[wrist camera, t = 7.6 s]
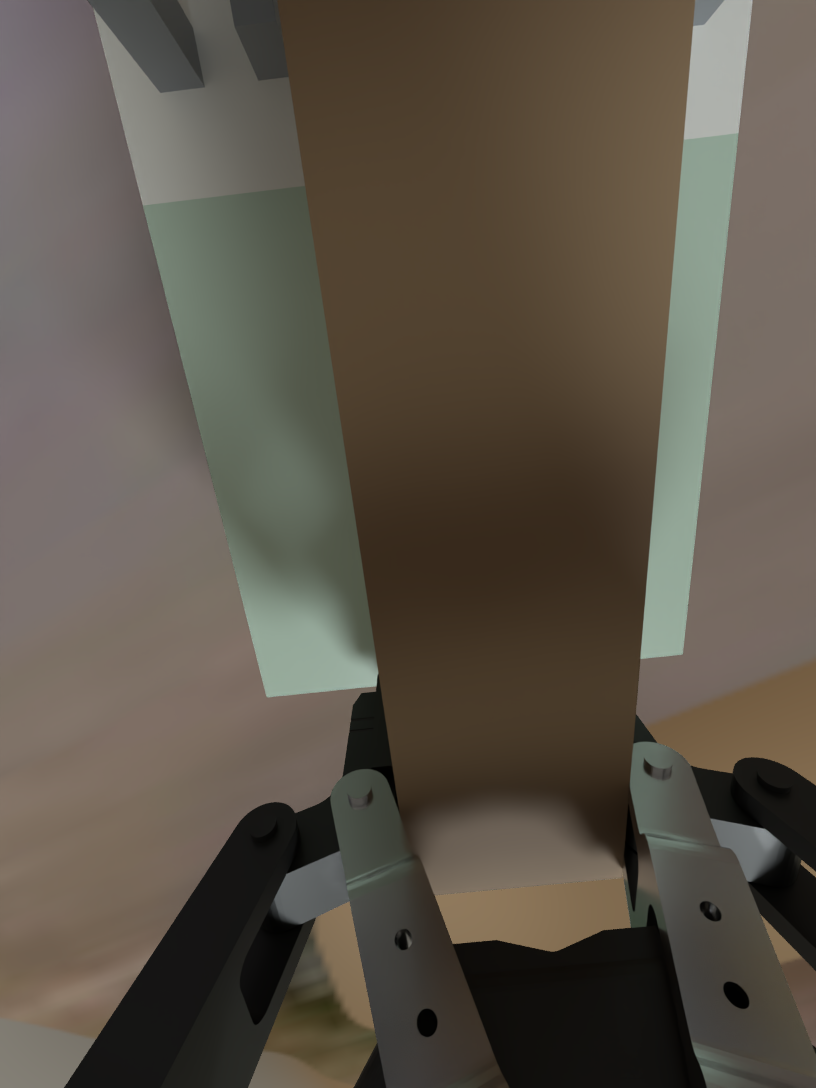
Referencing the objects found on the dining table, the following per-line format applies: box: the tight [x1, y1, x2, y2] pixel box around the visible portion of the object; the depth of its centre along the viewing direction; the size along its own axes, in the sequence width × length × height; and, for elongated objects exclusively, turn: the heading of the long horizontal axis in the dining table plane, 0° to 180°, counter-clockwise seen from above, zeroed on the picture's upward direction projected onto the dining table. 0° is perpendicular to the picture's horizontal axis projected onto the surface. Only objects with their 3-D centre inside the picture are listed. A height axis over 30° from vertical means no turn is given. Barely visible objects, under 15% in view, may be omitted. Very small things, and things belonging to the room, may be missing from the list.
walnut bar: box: [277, 0, 695, 895], centre depth 10 cm, size 16×4×6 cm, turn 6°
